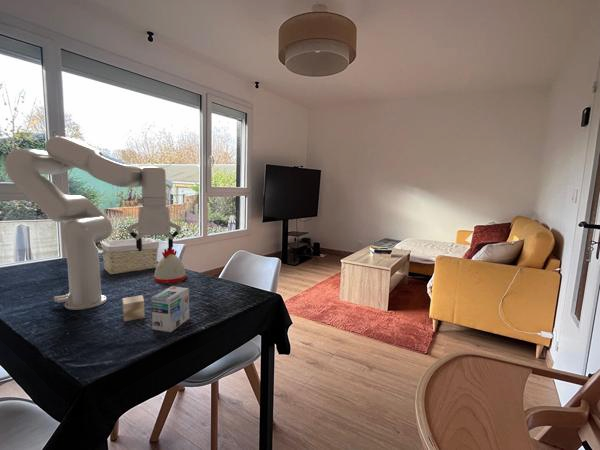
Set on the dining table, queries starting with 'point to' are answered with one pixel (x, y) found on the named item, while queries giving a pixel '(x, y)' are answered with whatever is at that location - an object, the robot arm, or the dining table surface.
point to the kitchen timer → (169, 268)
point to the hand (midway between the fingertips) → (155, 250)
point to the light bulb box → (170, 308)
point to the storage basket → (129, 255)
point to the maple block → (133, 308)
